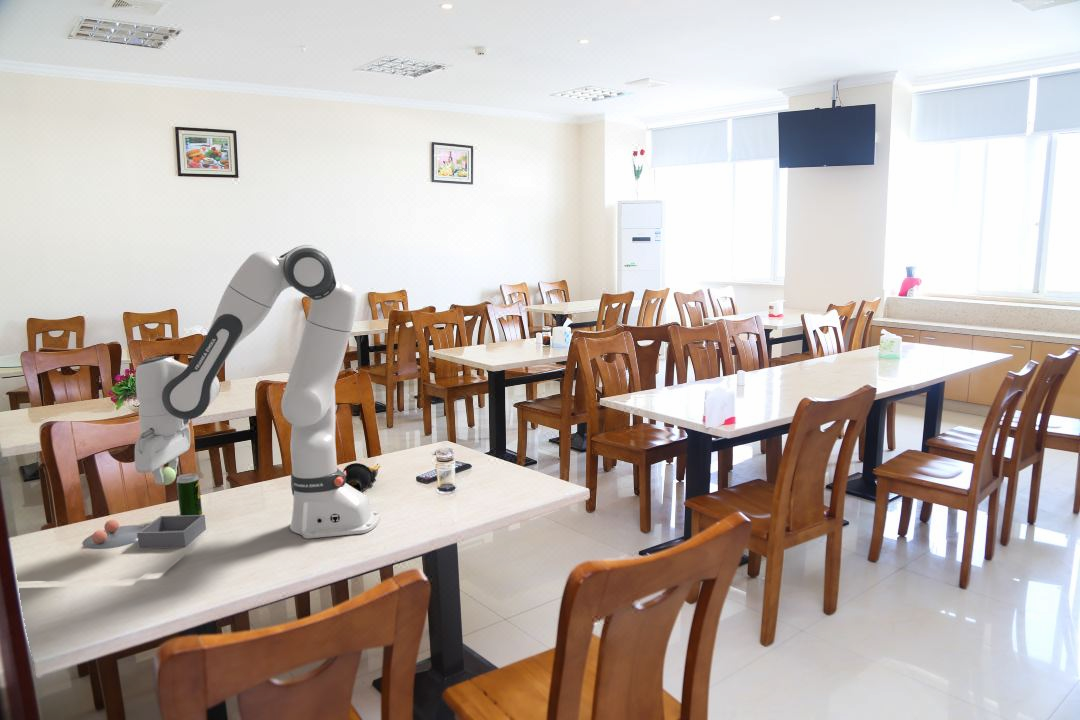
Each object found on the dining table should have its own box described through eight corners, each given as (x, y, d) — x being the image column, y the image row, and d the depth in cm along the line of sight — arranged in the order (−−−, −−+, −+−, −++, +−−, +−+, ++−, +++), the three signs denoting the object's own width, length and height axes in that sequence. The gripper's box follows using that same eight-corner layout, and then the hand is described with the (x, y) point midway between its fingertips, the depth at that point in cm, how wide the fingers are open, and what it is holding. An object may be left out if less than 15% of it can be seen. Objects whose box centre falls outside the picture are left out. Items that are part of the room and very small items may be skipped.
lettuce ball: (180, 481, 186) (178, 464, 185) (171, 487, 182) (169, 469, 181) (162, 481, 186) (160, 464, 186) (153, 487, 182) (151, 470, 181)
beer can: (182, 524, 199) (177, 480, 197) (179, 518, 203) (174, 475, 201) (204, 520, 202) (199, 476, 200) (200, 514, 206) (196, 471, 204)
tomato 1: (110, 540, 186) (108, 528, 186) (103, 545, 183) (101, 533, 182) (97, 540, 186) (96, 528, 186) (89, 546, 183) (88, 533, 182)
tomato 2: (122, 529, 193) (120, 517, 192) (115, 534, 190) (113, 522, 189) (109, 529, 193) (108, 518, 192) (102, 534, 190) (100, 522, 189)
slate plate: (162, 528, 196) (162, 524, 196) (131, 552, 181) (131, 548, 181) (105, 530, 196) (104, 525, 196) (69, 554, 181) (69, 549, 181)
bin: (206, 533, 192) (204, 514, 191) (185, 551, 181) (183, 532, 180) (162, 534, 192) (160, 515, 191) (139, 552, 181) (137, 533, 180)
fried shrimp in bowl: (332, 481, 216) (345, 445, 232) (352, 508, 221) (364, 472, 237) (360, 470, 215) (371, 434, 231) (379, 498, 220) (390, 461, 235)
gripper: (151, 434, 171) (157, 493, 174) (192, 413, 191) (198, 466, 194) (123, 435, 171) (130, 493, 174) (168, 414, 192) (173, 466, 194)
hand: (166, 479), depth 184 cm, fingers closed on lettuce ball, 4 cm apart
